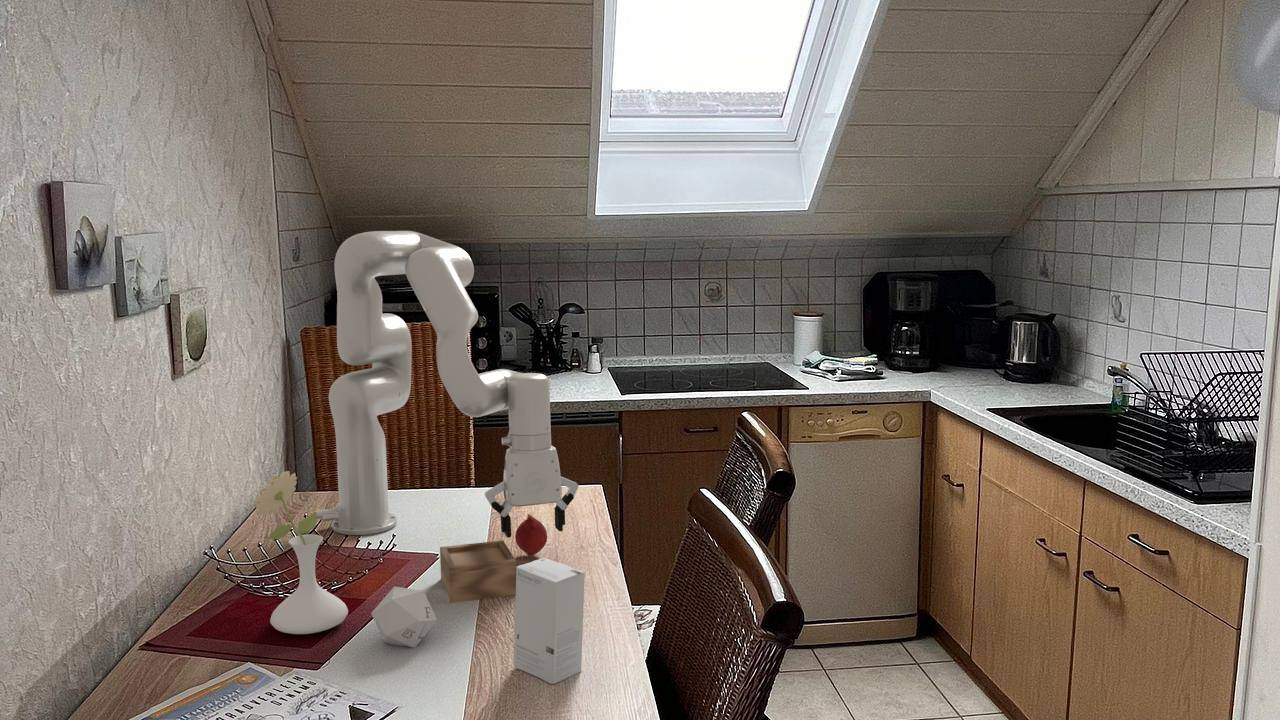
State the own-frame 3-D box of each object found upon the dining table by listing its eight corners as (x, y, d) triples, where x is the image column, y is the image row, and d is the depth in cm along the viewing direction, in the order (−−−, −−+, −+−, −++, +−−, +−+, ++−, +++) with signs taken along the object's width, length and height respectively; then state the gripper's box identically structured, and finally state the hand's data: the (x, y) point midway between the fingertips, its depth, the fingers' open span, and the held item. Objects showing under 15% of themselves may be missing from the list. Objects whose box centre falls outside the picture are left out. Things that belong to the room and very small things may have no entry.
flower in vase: (326, 605, 161) (319, 454, 157) (362, 626, 153) (355, 468, 149) (247, 628, 152) (237, 469, 148) (280, 652, 144) (271, 484, 140)
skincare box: (512, 668, 139) (510, 566, 137) (543, 654, 144) (542, 555, 141) (555, 686, 134) (554, 581, 131) (586, 671, 138) (585, 568, 136)
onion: (549, 551, 187) (549, 509, 185) (544, 561, 181) (543, 519, 180) (519, 550, 187) (518, 509, 186) (512, 560, 182) (511, 518, 180)
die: (388, 664, 142) (428, 609, 142) (350, 624, 145) (389, 571, 145) (418, 660, 149) (456, 609, 149) (381, 623, 153) (418, 572, 153)
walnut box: (450, 602, 162) (449, 568, 161) (440, 579, 172) (439, 547, 172) (516, 594, 166) (516, 560, 165) (503, 571, 176) (503, 540, 175)
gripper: (486, 450, 175) (490, 544, 177) (581, 441, 180) (584, 532, 182) (479, 441, 182) (483, 532, 184) (571, 433, 187) (573, 521, 190)
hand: (533, 532), depth 183 cm, fingers open, 9 cm apart
